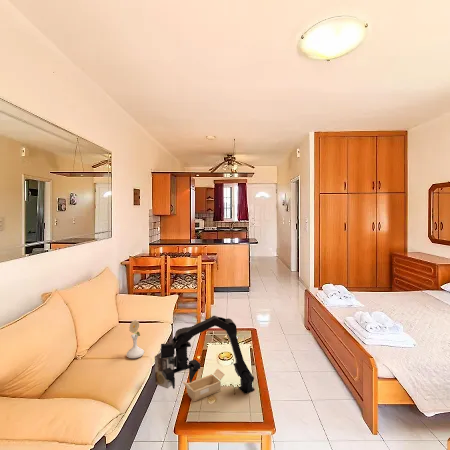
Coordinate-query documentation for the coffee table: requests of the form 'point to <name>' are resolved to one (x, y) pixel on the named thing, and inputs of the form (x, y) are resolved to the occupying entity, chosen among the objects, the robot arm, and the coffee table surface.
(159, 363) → the coffee box
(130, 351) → the flower in vase
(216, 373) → the inner flap
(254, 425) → the coffee table surface
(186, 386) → the outer flap
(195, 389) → the carton
